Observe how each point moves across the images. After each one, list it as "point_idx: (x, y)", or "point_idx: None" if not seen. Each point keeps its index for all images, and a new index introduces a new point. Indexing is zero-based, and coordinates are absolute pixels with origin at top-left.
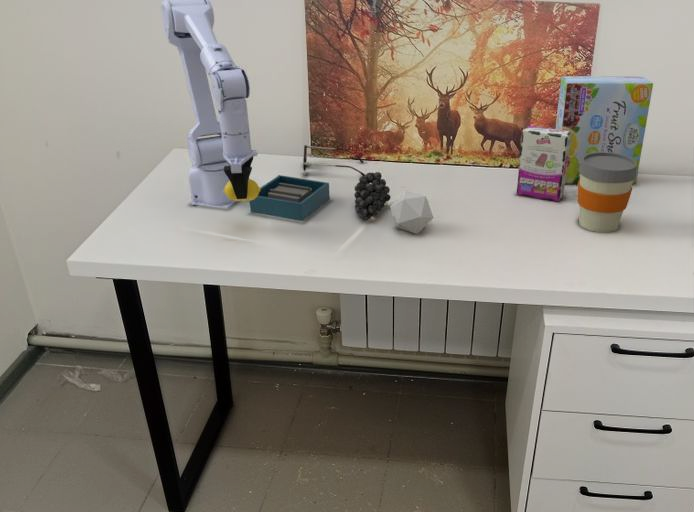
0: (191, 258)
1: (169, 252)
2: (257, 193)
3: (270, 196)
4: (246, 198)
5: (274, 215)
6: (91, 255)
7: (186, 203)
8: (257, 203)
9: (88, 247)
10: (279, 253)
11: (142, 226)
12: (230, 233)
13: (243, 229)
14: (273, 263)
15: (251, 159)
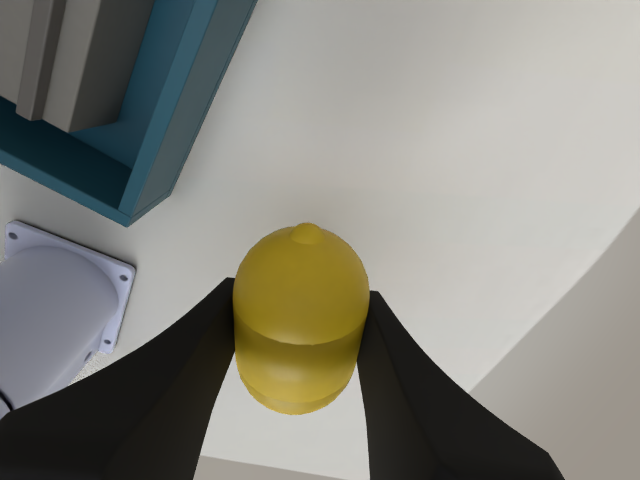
0: (459, 349)
1: None
2: (341, 239)
3: (80, 116)
4: (377, 292)
5: (206, 104)
6: None
7: (101, 356)
8: (158, 183)
9: (337, 477)
10: (554, 114)
11: (250, 423)
12: None
13: None
14: (623, 145)
15: (125, 458)
